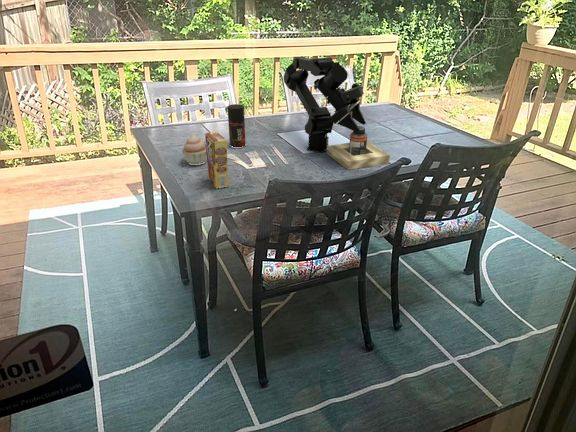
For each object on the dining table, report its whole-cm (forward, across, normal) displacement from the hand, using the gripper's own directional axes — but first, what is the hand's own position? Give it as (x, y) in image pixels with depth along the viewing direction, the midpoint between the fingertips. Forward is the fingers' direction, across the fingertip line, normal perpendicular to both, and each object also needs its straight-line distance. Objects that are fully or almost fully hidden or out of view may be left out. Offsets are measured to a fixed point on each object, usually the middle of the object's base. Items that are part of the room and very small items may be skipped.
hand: (362, 127), depth 159 cm
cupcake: (-29, -24, +45) cm, 58 cm away
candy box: (-18, -36, +34) cm, 53 cm away
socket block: (+7, 0, +9) cm, 11 cm away
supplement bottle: (+8, 0, +9) cm, 12 cm away
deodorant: (-24, -4, +40) cm, 47 cm away
